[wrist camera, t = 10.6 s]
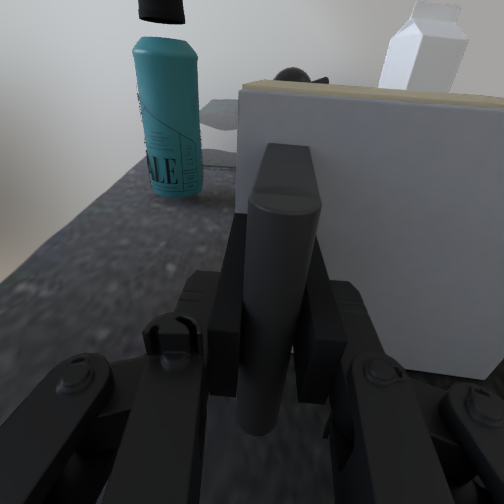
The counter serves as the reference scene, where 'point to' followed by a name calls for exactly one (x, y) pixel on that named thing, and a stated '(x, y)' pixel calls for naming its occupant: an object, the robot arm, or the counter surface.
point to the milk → (425, 50)
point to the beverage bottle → (169, 103)
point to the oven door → (370, 230)
